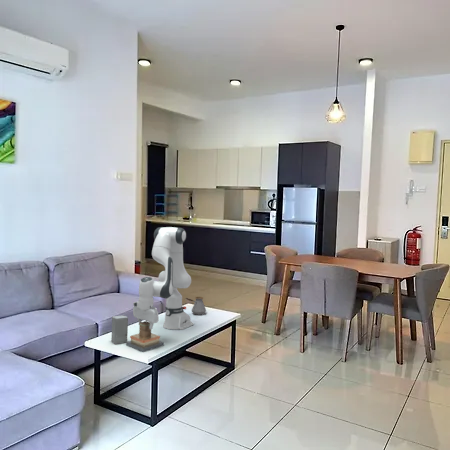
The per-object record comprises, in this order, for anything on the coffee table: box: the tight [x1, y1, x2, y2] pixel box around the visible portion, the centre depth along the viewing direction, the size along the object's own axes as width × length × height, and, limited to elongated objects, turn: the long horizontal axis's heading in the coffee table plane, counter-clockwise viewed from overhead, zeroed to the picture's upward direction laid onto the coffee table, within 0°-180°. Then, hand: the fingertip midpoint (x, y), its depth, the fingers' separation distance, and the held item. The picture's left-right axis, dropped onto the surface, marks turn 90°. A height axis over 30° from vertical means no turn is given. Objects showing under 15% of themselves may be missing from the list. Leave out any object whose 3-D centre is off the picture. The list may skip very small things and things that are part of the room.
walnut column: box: [138, 320, 152, 338], centre depth 252 cm, size 5×5×8 cm
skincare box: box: [110, 315, 129, 345], centre depth 257 cm, size 8×7×16 cm
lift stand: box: [125, 332, 165, 353], centre depth 252 cm, size 16×16×6 cm
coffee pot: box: [183, 296, 207, 316], centre depth 323 cm, size 21×12×15 cm, turn 140°
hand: (145, 327), depth 252 cm, fingers open, 8 cm apart
